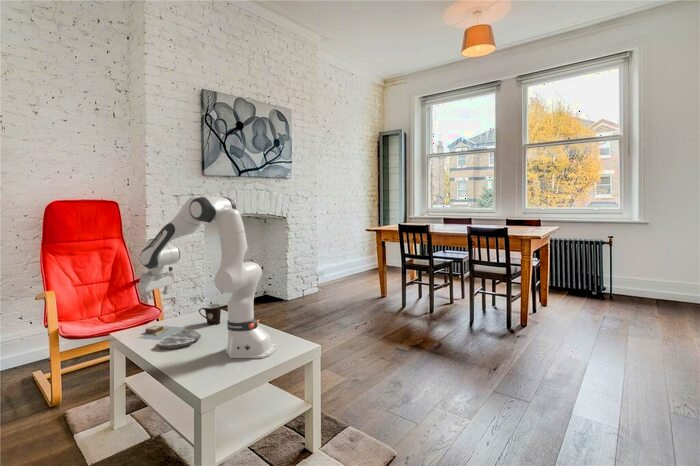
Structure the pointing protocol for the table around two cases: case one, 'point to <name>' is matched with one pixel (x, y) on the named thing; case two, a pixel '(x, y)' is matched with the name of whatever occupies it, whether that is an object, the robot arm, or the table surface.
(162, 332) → the birch strip
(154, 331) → the walnut block
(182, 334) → the brain slice
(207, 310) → the coffee mug
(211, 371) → the table surface
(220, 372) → the table surface
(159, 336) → the rubber mat
